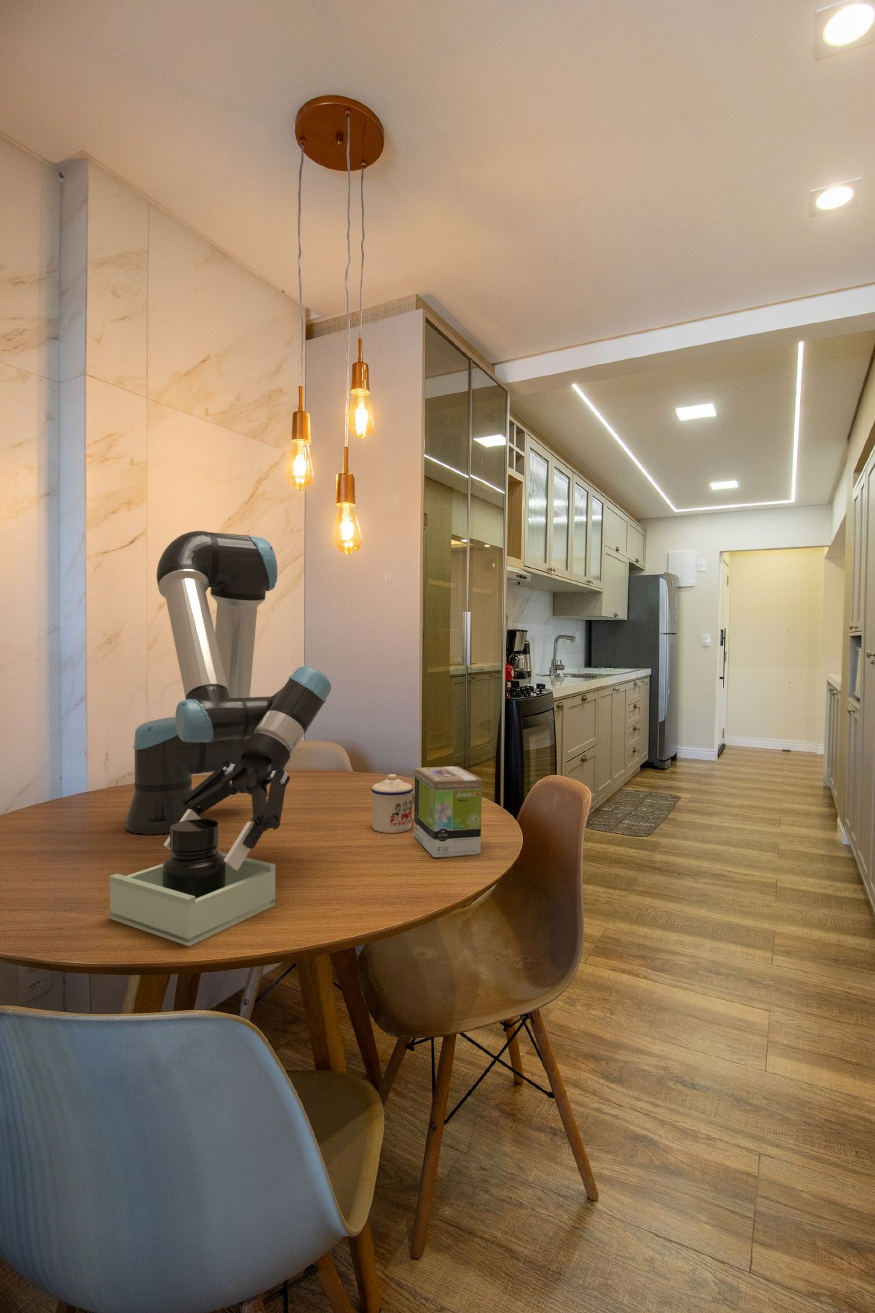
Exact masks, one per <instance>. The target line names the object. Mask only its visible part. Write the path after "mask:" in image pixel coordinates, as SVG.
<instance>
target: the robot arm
mask: <svg viewBox="0 0 875 1313" xmlns="http://www.w3.org/2000/svg"><path fill="white" fill-rule="evenodd" d="M277 581H278V561H277V557H276V554H275V551H274V549H273V546H272V545H271V543H270V542H269V541H268V540H267V539H265V538H263V537H258V536H253V535H250V534H248V535H247V534H236V533H235V534H234V533H223V532H211V531H210V532H209V531H204V530H195V531H194V530H193V531H189V532H186V533H183V534H181V535H179V536H178V537H176V538H175V539H174V540H173V541H171V542H170V543H169V545H167V546H166V548H165V549H164V551H163V552H162V554H161V556H160V559H159V560H158V564H157V569H156V582H157V588H158V592H159V594H160V595H161V596H162V597H163V598H165V600H166V605H167V606H166V607H167V611H168V615H169V616H168V617H169V622H170V626H171V631H172V638H173V641H174V646H175V651H176V652H175V653H176V658H177V660H178V667H179V671H180V678H181V682H182V687H183V690H184V691H183V692H184V698H185V699H183V700H181V701H179V702H178V703H177V705H176V709H175V716H170V717H163V718H158V719H153V720H151V721H146V722H144V723H141V724H140V725H138V726H137V728H136V729H135V733H134V743H133V749H134V794H133V797H132V799H131V802H130V805H129V809H128V812H127V815H126V817H125V830H126V829H127V830H128V831H127V830H126V831H127V832H129V831H130V832H129V833H132V832H134V833H133V834H136V833H141V834H140V835H162V834H163V835H165V834H170V827H171V825H173V824H175V823H178V822H181V821H187V820H195V819H202V818H201V815H202V814H204V813H205V812H207V811H208V810H209V809H211V808H212V807H214V806H215V805H217V804H219V803H220V802H221V801H223V800H225V799H227V798H228V797H229V796H231V795H232V796H235V795H237V794H238V793H239V794H248V795H250V796H251V805H252V817H251V818H250V820H251V821H247V822H246V824H245V825H244V827H243V829H242V830H241V832H240V833H239V835H238V837H237V838H236V840H235V841H234V843H233V845H232V846H231V848H230V850H229V851H228V852H227V853H228V854H227V856H226V857H225V859H224V862H226V863H227V864H228V865H229V866H230V867H231V868H233V869H234V870H237V871H238V869H239V868H240V866H241V864H242V863H243V861H244V859H245V858H247V856H248V854H249V852H250V851H251V850H254V848H255V847H256V845H257V843H258V842H259V840H260V839H261V837H262V835H263V833H264V832H267V830H268V829H273V830H277V829H279V828H280V826H281V819H282V814H283V805H284V799H285V793H286V788H287V785H288V784H289V781H290V780H291V776H289V774H288V773H287V772H286V771H285V770H284V769H285V767H286V765H287V764H288V762H289V760H290V759H291V755H292V754H293V753H294V752H295V750H296V749H297V747H298V745H299V744H300V743H301V740H302V738H303V737H304V735H305V734H306V733H307V731H308V729H309V727H310V726H311V725H312V723H313V721H314V719H315V718H316V716H317V715H318V713H319V712H320V711H321V708H322V707H323V706H324V704H325V703H327V698H328V696H329V695H330V693H331V690H332V684H331V682H330V680H329V679H328V677H327V676H326V675H325V674H324V673H322V672H321V671H320V670H318V669H316V668H314V667H311V666H304V665H303V666H300V667H298V668H296V669H295V671H294V672H293V673H292V675H290V676H289V677H288V680H287V682H286V683H285V685H283V687H281V689H279V690H278V691H276V693H274V694H273V695H271V696H255V697H254V696H252V697H251V690H252V689H251V687H252V686H251V685H252V675H253V662H254V654H255V653H254V651H255V642H256V641H255V640H256V628H257V615H258V607H259V606H260V605H261V604H262V603H263V602H264V601H266V592H270V591H272V590H274V589H275V587H276V583H277ZM209 588H210V593H209V594H210V596H211V597H212V599H213V600H214V601H215V603H216V614H215V615H216V616H215V627H214V624H213V618H212V614H211V610H210V605H209V602H208V601H209V600H208V596H207V592H208V589H209ZM201 774H210V775H209V776H207V778H205V779H204V780H203V781H202V782H200V783H199V784H198V785H197V786H196V787H194V788H193V776H194V775H201ZM268 786H269V789H268ZM164 833H165V834H164ZM163 846H164V847H166V848H167V849H168V850H169V851H170V835H169V836H167V839H166V840H165V842H164V844H163Z"/></svg>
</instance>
